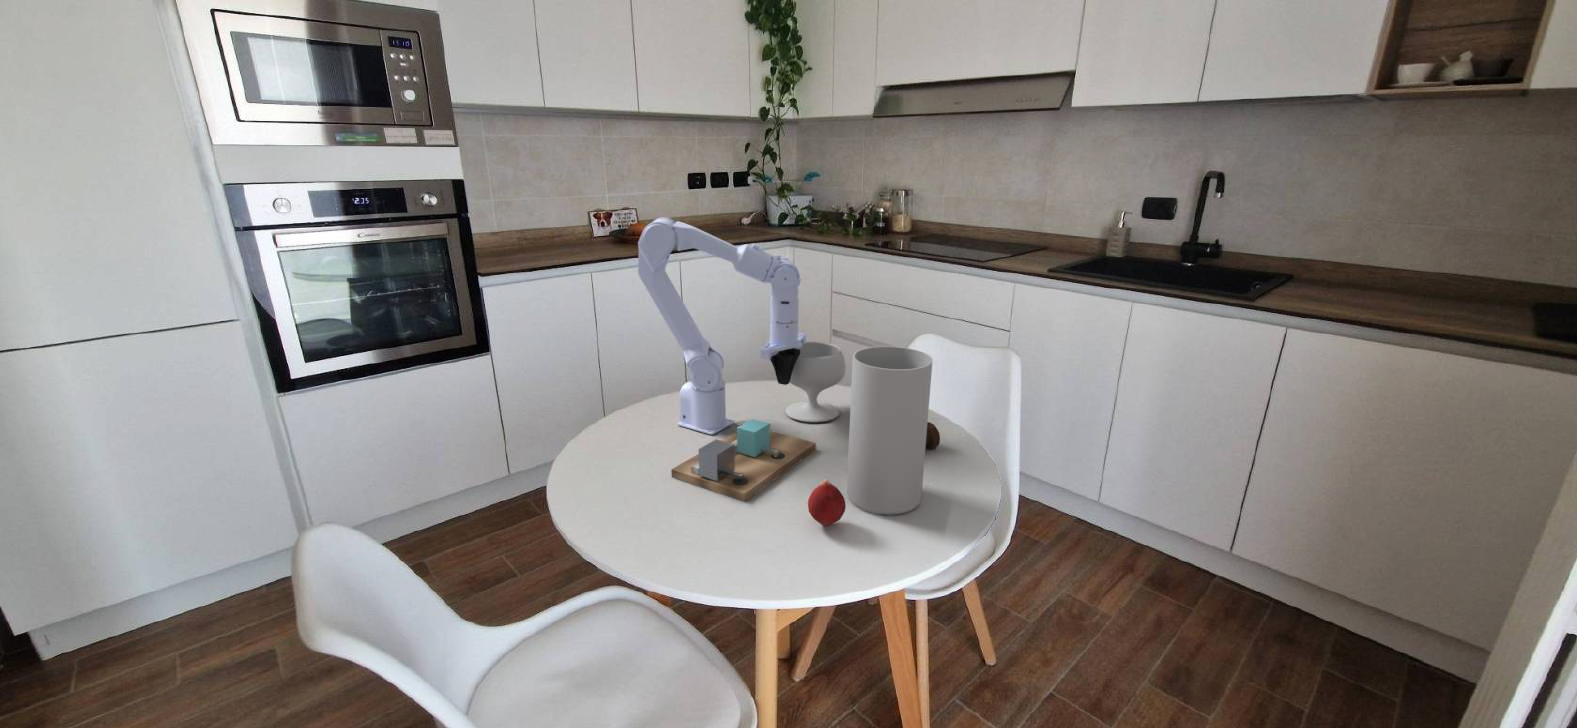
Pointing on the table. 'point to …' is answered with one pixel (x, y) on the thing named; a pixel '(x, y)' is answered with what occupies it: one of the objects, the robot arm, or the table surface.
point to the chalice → (816, 380)
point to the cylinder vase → (888, 428)
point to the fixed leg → (718, 461)
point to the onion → (826, 504)
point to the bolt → (932, 436)
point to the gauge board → (749, 467)
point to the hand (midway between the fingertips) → (783, 383)
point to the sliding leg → (754, 438)
